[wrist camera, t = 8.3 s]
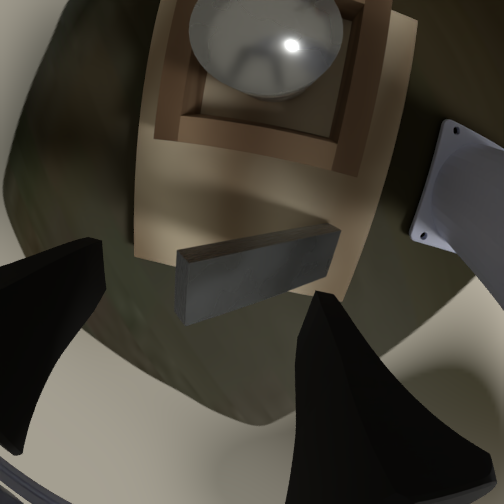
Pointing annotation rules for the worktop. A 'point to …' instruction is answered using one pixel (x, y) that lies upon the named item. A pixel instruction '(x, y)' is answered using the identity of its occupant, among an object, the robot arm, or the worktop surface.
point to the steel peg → (266, 43)
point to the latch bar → (250, 269)
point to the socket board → (269, 143)
